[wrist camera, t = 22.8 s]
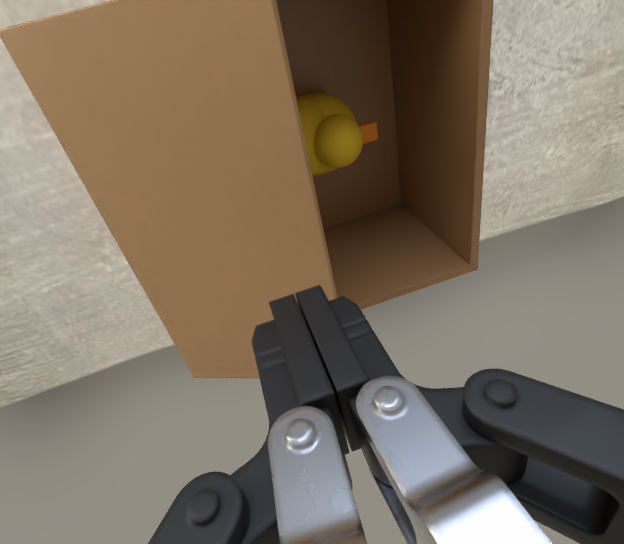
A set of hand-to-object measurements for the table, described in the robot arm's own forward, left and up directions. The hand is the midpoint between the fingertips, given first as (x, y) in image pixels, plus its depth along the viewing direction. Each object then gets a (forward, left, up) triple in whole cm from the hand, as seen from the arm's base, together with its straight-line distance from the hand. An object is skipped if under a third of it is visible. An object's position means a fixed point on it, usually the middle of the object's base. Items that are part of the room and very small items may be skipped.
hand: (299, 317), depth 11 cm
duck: (+4, 0, -17) cm, 17 cm away
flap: (-2, 0, -6) cm, 6 cm away
